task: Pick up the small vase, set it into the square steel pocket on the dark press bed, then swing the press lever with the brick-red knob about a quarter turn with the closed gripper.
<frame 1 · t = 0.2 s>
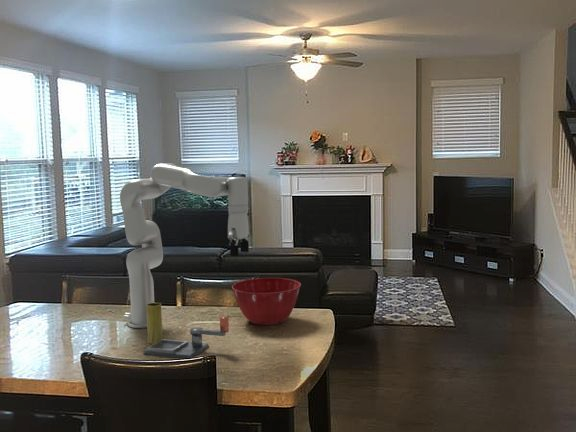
hand: (239, 253, 231), 31 cm above the table, tool pointing down, fingers open, 9 cm apart
vase: (155, 342, 224), on the table
mixing bowl: (267, 321, 250), on the table
bed: (176, 350, 214), on the table
lever: (209, 325, 213), point 9 cm above the table, hinge at 0.0°
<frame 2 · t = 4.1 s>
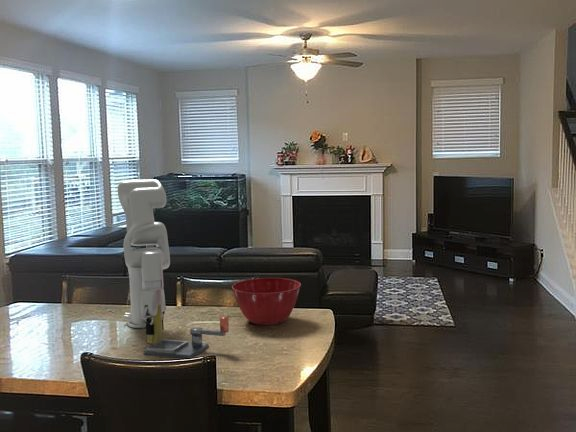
hand: (155, 331, 224), 4 cm above the table, tool pointing down, fingers closed on vase, 5 cm apart
vase: (155, 342, 224), on the table, touching gripper
everything else where it was.
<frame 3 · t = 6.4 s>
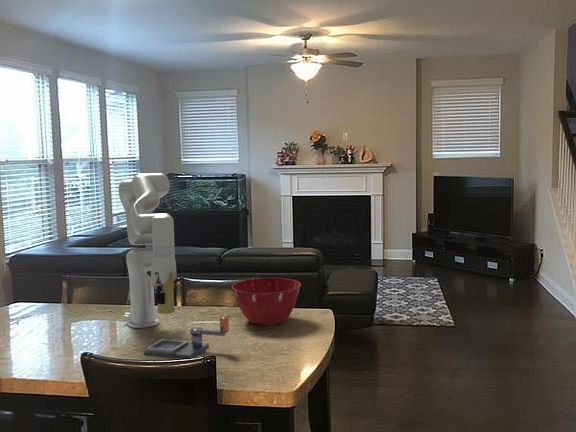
hand: (165, 301, 212), 18 cm above the table, tool pointing down, fingers closed on vase, 5 cm apart
vase: (166, 312, 212), point 14 cm above the table, touching gripper
everything else where it was.
when the fingers open (6 cm above the table, at t = 8.9 s): vase stays where it is, resting on bed.
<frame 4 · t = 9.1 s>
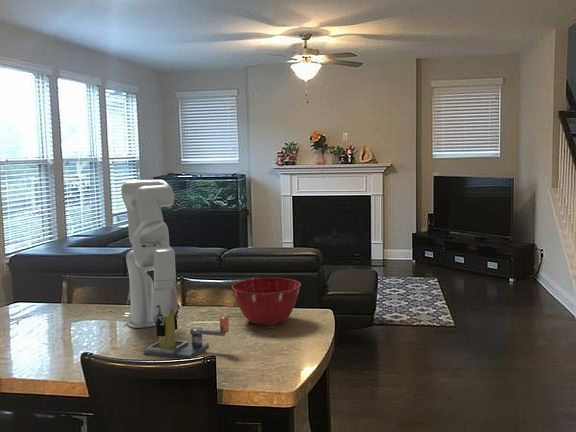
hand: (167, 332, 213), 7 cm above the table, tool pointing down, fingers open, 7 cm apart
vase: (167, 347, 214), point 1 cm above the table, touching bed
everything else where it was.
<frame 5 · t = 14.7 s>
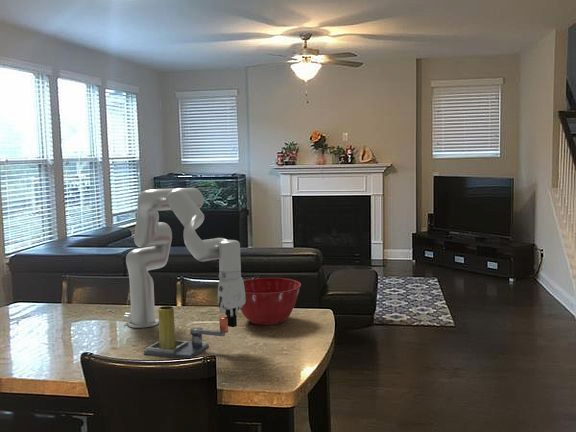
hand: (232, 326, 214), 8 cm above the table, tool pointing down, fingers closed
lever: (209, 325, 213), point 9 cm above the table, hinge at 1.9°, touching gripper
everything else where it was.
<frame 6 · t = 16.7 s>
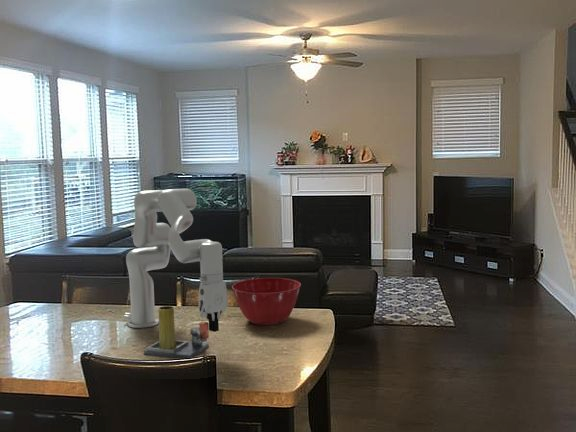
hand: (213, 330, 207), 9 cm above the table, tool pointing down, fingers closed
lever: (199, 328, 210), point 9 cm above the table, hinge at 48.4°, touching gripper
everything else where it was.
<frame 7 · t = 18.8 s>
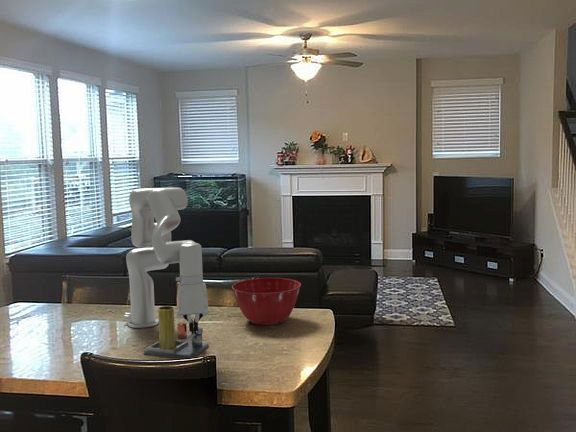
hand: (193, 333, 204), 9 cm above the table, tool pointing down, fingers closed
lever: (189, 328, 210), point 9 cm above the table, hinge at 87.4°, touching gripper
everything else where it was.
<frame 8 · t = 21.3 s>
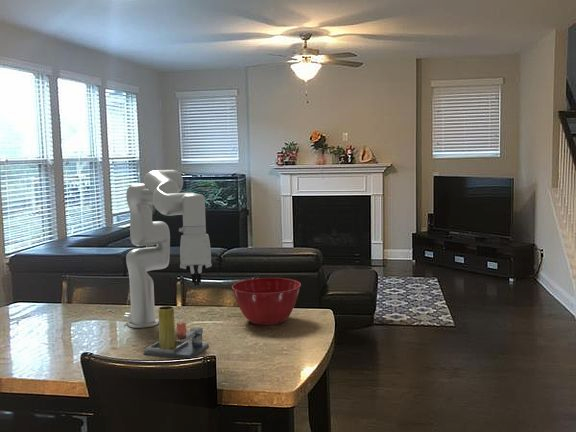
hand: (196, 284, 204), 25 cm above the table, tool pointing down, fingers closed
lever: (189, 328, 210), point 9 cm above the table, hinge at 88.8°
everything else where it was.
at the end: vase inside the target area on the bed (0.1 cm from its centre), point 1.0 cm above the bed's base; vase tilted 0°; lever at +89° (first picture: +0°) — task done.
